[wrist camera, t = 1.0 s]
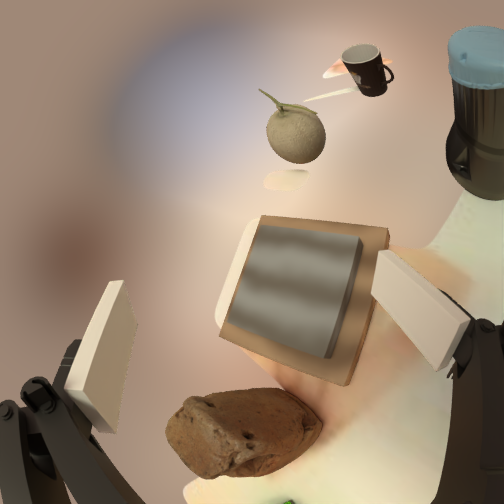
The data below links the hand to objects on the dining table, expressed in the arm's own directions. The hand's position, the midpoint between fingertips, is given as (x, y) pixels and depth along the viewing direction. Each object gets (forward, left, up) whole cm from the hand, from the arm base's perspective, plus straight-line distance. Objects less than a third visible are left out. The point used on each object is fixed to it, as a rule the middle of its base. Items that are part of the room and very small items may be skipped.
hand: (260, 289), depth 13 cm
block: (+15, -6, -28) cm, 32 cm away
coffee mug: (-49, -6, -28) cm, 57 cm away
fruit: (-31, -18, -28) cm, 45 cm away
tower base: (-4, -11, -28) cm, 30 cm away
